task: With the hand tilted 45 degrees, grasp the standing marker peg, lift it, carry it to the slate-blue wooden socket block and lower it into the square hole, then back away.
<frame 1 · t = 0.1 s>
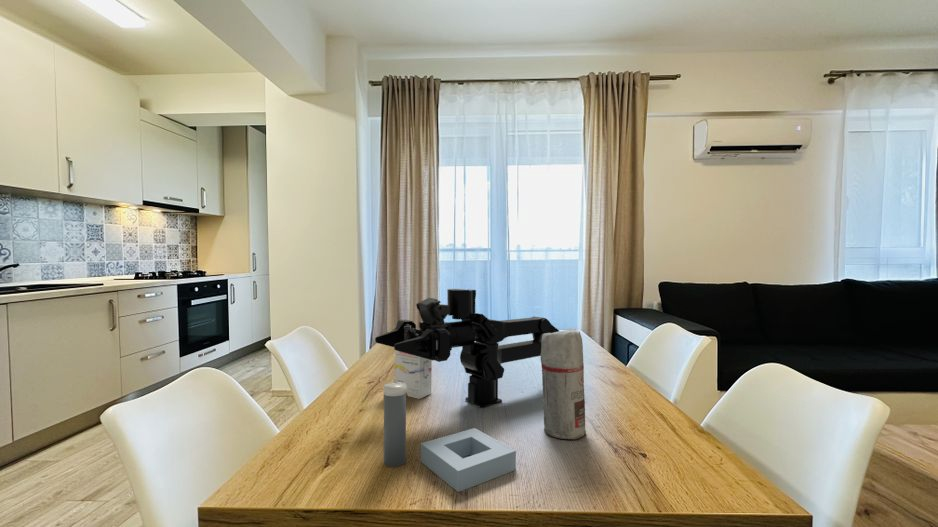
hand: (384, 343, 81), 17 cm above the table, tool horizontal, fingers open, 9 cm apart
spray can: (563, 433, 78), on the table
peg: (394, 461, 66), on the table
socket: (467, 465, 65), on the table
ink cartridge box: (412, 394, 102), on the table
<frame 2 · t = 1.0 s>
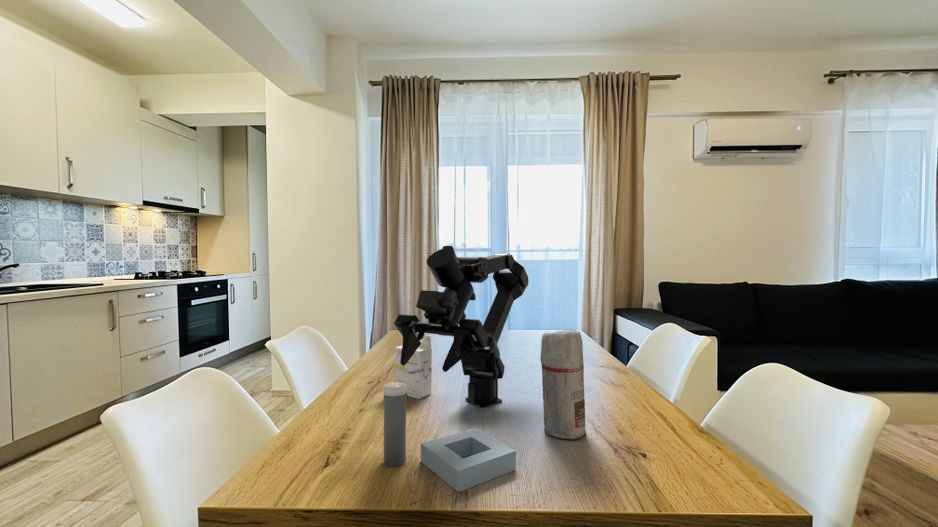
hand: (422, 367, 74), 14 cm above the table, tool tilted 45°, fingers open, 9 cm apart
nothing on the table moved.
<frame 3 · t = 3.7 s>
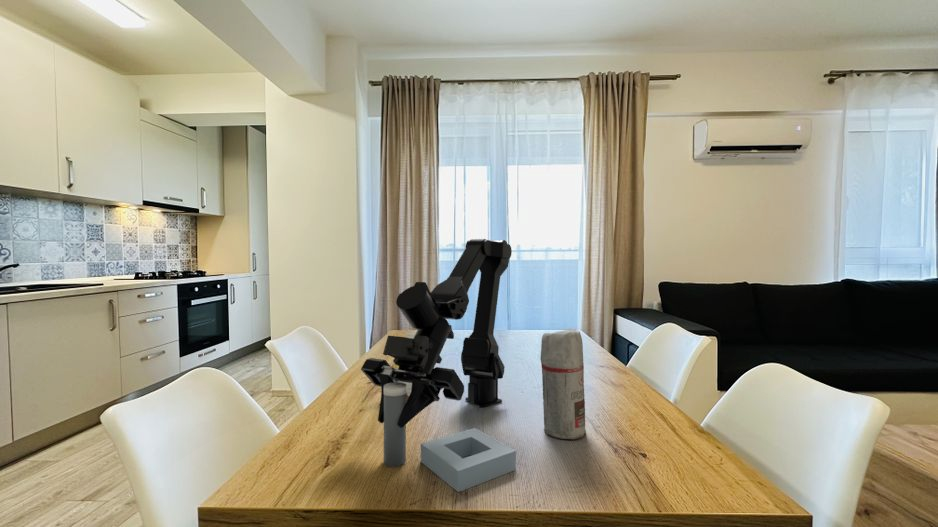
hand: (389, 424, 65), 7 cm above the table, tool tilted 45°, fingers closed on peg, 4 cm apart
peg: (394, 461, 66), on the table, touching gripper
everything else where it was.
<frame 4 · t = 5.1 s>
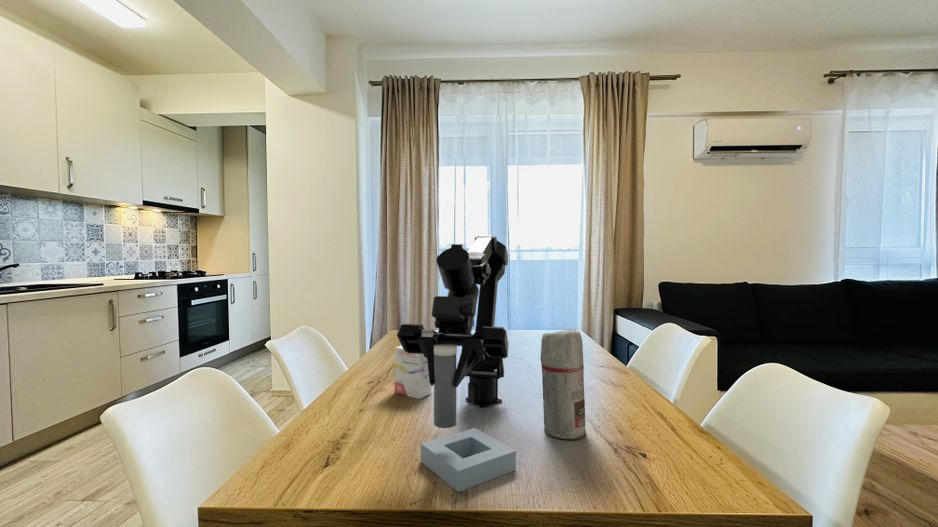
hand: (443, 385, 64), 13 cm above the table, tool tilted 45°, fingers closed on peg, 4 cm apart
peg: (445, 423, 65), point 7 cm above the table, touching gripper
everything else where it was.
when the fingers open (7 cm above the table, at t = 6.7 s): peg stays where it is, resting in socket.
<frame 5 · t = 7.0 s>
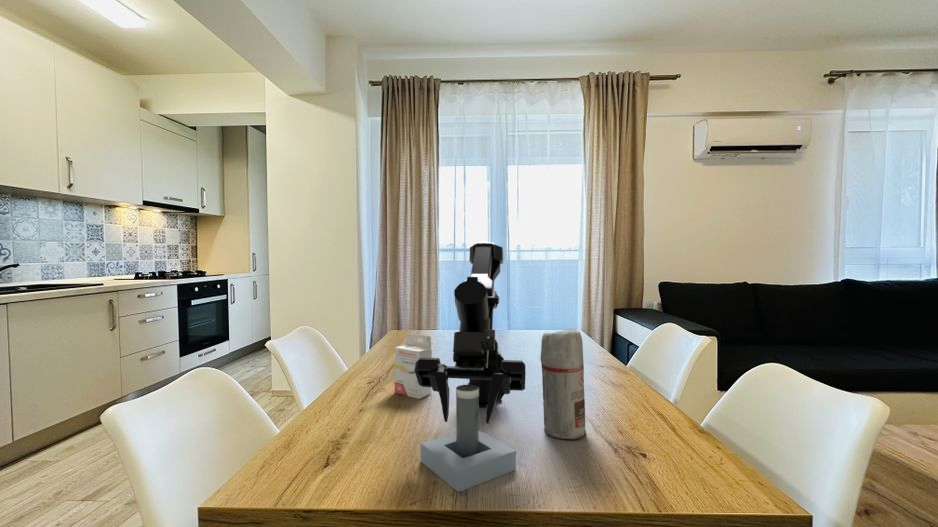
hand: (466, 421, 64), 8 cm above the table, tool tilted 45°, fingers open, 6 cm apart
peg: (467, 465, 65), resting in socket
everything else where it was.
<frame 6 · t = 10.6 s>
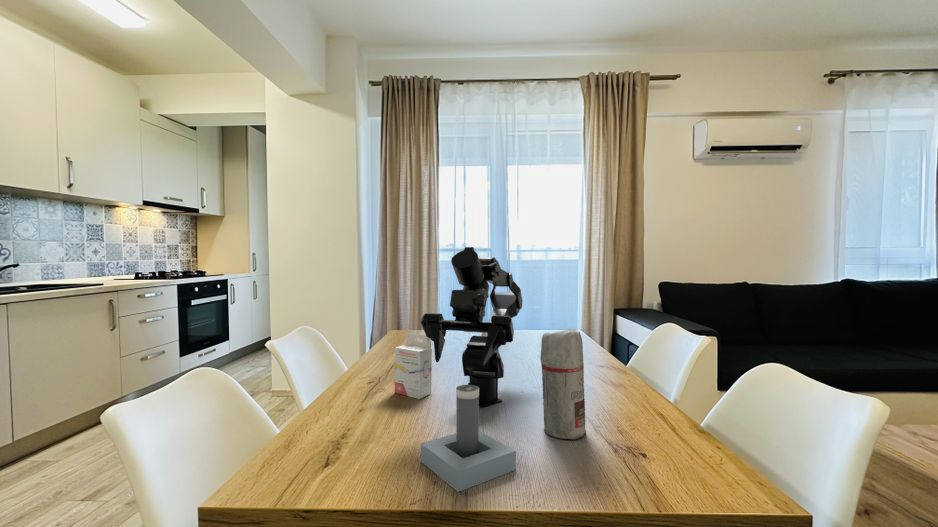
hand: (459, 362, 78), 14 cm above the table, tool tilted 45°, fingers open, 9 cm apart
nothing on the table moved.
at the end: peg 0.0 cm off-centre on the socket, point 0.0 cm above the socket's base; peg tilted 0°; the gripper is holding nothing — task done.
